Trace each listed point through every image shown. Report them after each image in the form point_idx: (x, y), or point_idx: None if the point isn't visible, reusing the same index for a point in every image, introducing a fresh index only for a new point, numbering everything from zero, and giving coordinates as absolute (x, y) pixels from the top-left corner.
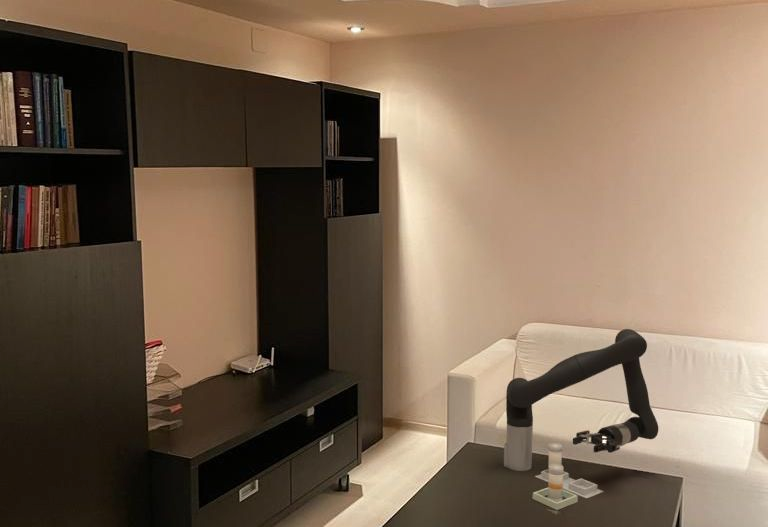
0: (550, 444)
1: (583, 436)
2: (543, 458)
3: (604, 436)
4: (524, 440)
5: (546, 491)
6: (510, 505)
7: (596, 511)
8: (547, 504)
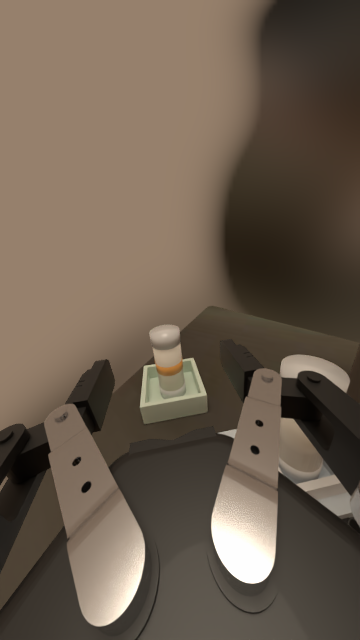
0: (310, 359)
1: (251, 385)
2: None
3: (99, 526)
4: None
5: (196, 381)
6: (200, 352)
7: (100, 446)
8: None
